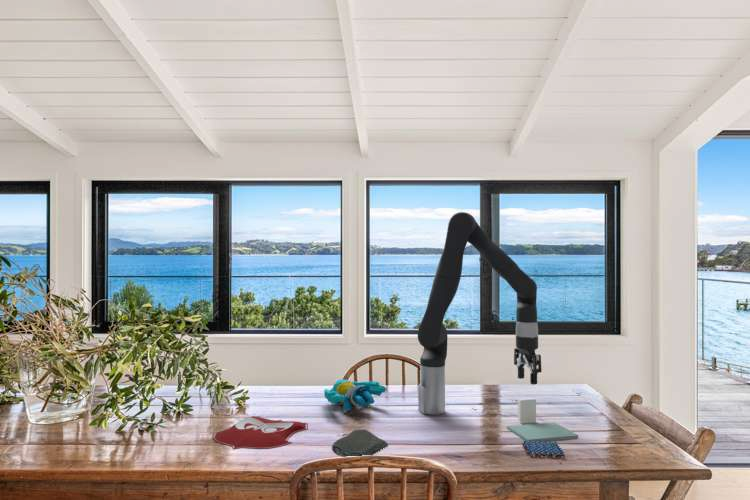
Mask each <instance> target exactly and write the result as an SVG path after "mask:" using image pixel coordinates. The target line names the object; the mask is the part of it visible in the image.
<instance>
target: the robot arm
mask: <svg viewBox="0 0 750 500" xmlns="http://www.w3.org/2000/svg"><path fill="white" fill-rule="evenodd" d="M467 243H469V244H470V245H471V246H472V247H474V248H475V250H477V252H478V253H479V254H480V255H481V257H483V259H484V260H485V261H486V263H487V264H488V265H489V266H490V267H491V268H492V269H493V271H494V272H496V273H497V274H498V276H500V277H501V278H502V279H504V280H505V282H507V284H508V285H509V286H510V287H511V289H512V290H513V291H514V292H515V293H516V309H515V311H516V312H515V314H516V317H515V318H516V319H515V321H516V322H515V347H516V348H514V349H513V353H514V354H513V364H514V365H515V366H516V368H517V379H521V380H522V379H525V365H526V367H527V368H528V369H529V372H530V376H529V378H530V380H529V381H530V384H531V385H532V386H533V385H537V384H538V374H539V373H542V356H541V354H539V353H538V354H536V350H537V349H539V326H538V309H537V296H538V295H537V293H538V291H537V290H538V286H537V283H536V281H535V280H534V279H533V278H532V277H530V276H529V275H528V274H527V273H526V272H525V271H523V270H522V269H521V268H520V266H519V265H518V264H517V262H515V261H514V260H513V259H512V258H511V257H510V256H509V254H507V253H506V252H505V251H504V250H502V248H500V247H499V246H498V245H497V244H496V243H495V242H494V241H493V240H492V239H491V238H490V237H489V236H488V235H487V233H485V231H484V230H483V229H482V228H481V226H480V225H479V223H478V222H477V220H476V219H475V217H474V216H473V215H472V214H471V213H468V212H463V211H459V212H455V213H454V214H452V216H451V217H450V219H449V221H448V223H447V230H446V236H445V242H444V246H443V251H442V253H441V255H440V259H439V261H438V265H437V268H436V271H435V275H434V276H433V277H434V278H433V282H432V286H431V289H430V294H429V298H428V301H427V305H426V309H425V313H424V314H423V317H422V320H421V322H420V325H419V327H418V330H417V340H418V343H419V344H420V345H421V347H423V352H422V354H421V356H420V359H419V360H420V361H419V363H420V365H419V366H420V367H419V369H420V371H419V372H420V373H419V375H420V377H419V380H420V381H419V384H417V385H418V387H417V389H418V393H417V395H418V396H417V397H418V401H417V402H418V404H417V405H418V406H417V409H418V411H420V412H421V413H422V415H431V416H432V415H433V416H434V415H436V416H437V415H442V414H444V413H446V360H447V356H448V355H447V354H448V329H447V328H446V326H445V325H444V324H443V323H444V319H445V316H446V313H447V310H448V309H449V307H450V305H451V303H452V302H453V300H454V298H455V296H456V294H457V292H458V289H459V285H460V281H461V277H462V272H463V261H464V255H465V254H464V253H465V249H466V247H467V245H468V244H467Z"/></svg>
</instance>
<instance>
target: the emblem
mask: <svg viewBox="0 0 750 500" xmlns="http://www.w3.org/2000/svg"><path fill="white" fill-rule="evenodd" d="M308 424H309V423H308V422H301V421H294V420H293V421H292V420H291V421H289V420H287V421H285V420H284V421H283V420H282V419H277V420H276V419H275V420H273V419H268V418H264V417H260V416H255V415H252V416H248V417H244V418H243V419H240V420H239V421H237V422H236V423H234V424H233V425H232V426H230V427H229V428H226V429H224V430H219V431H216V432H215V433H214V434H213V435H212V441H214V442H215V443H217V444H219V445H223V446H228V447H230V448H232V450H238V449H247V450H248V449H250V450H270V449H276V448H277V449H278V448H281V447H286V446H288V445H290V444H293V442H292V441H289V439H291V438H292V436H293V435H295V434H296V433H299V432H300V433H301V432H303V431H307V430H309V426H308Z"/></svg>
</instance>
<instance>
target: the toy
mask: <svg viewBox="0 0 750 500" xmlns="http://www.w3.org/2000/svg"><path fill="white" fill-rule="evenodd" d="M386 391H387V387H386V386H384V385H382V384H380V382H379V381H374V380H372V381H360V382H357V381H356V380H353V381H350V380H348V379H344V378H341V379H338V380H337V381H336V382H335V383H334V384H333V386H332V387H331V389H329V388H324V390H323V393H324V394H323V395H324V398H325V399H326V400H327V401H328V402H327V403H331V404H335V405H336V404H337V405H339V407H342V406H343V408H342V409H343V413H345V414H346V413H347V412H348V411H351V410H352V409H353V408H352V405H353V406H354V407H356V409H358V410H361V409H362V408H363V407H364V408H368V409H369V408H370V407H371V405H373V404H374V403H375V400H374V397H373V396H379V397H380V396H381V395H382V393H383V394H384V393H386ZM372 395H373V396H372Z"/></svg>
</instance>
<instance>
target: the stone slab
mask: <svg viewBox="0 0 750 500" xmlns="http://www.w3.org/2000/svg"><path fill="white" fill-rule="evenodd" d="M388 446H389V444H388V442H387V441H386V440H384V439H381V438H379V437H378V436H376V435H375V434H374V433H372V432H371V431H368V430H367V429H355V430H353V431H351V432H350V433H349V434H348V435H346V436H343V437H341V438H339V439H336V440H335V441H334V442H333V443H332V446H331V450H332V452H333V453H334V454H336V455H337V456H340V457H343V456H362V455H372V456H373V455H374V454H377V453H379V452H381V451H382V450H384V449H386V448H387V447H388ZM385 447H386V448H385ZM383 448H384V449H383ZM381 449H382V450H381ZM380 450H381V451H380ZM378 451H379V452H378ZM376 452H377V453H376Z"/></svg>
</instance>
